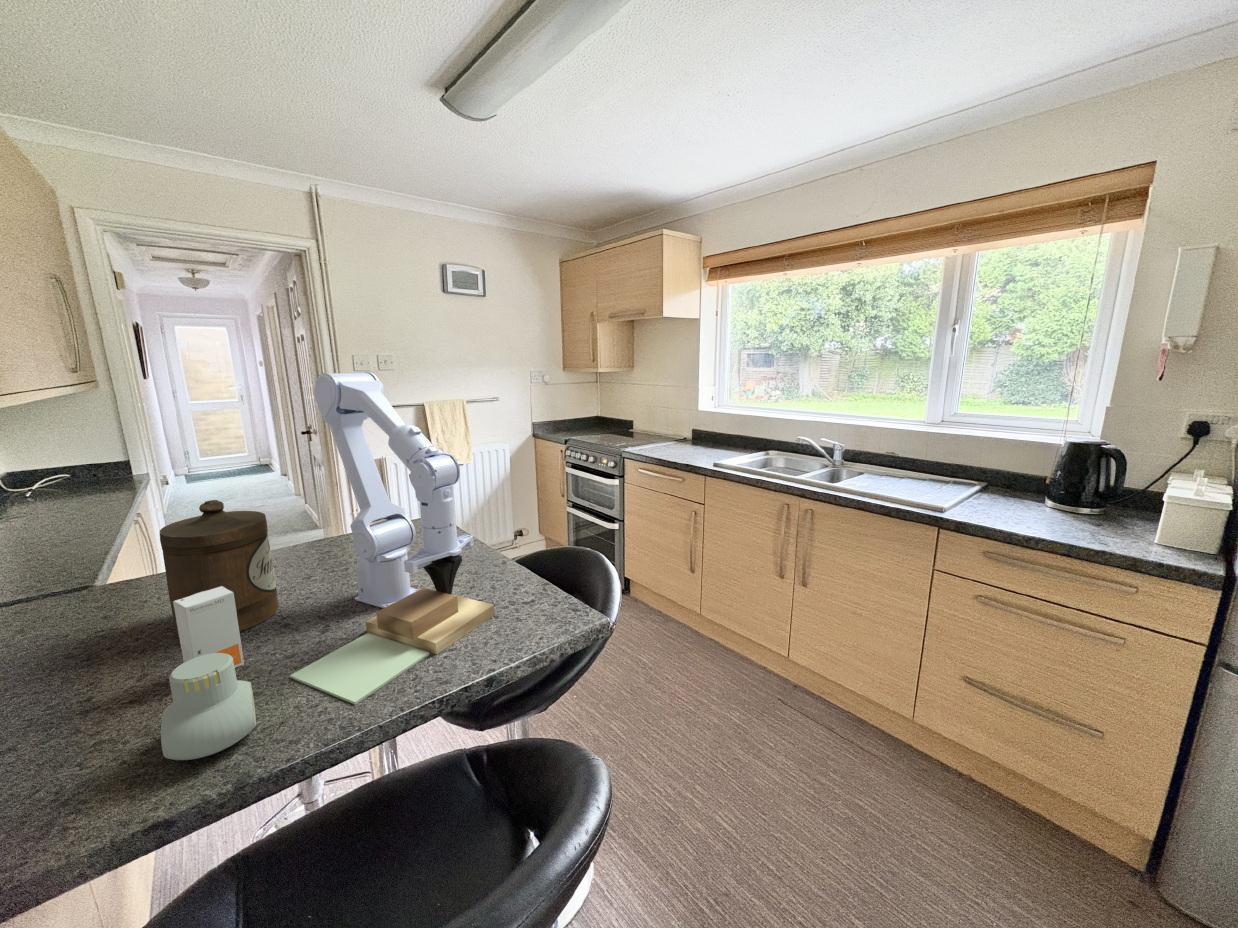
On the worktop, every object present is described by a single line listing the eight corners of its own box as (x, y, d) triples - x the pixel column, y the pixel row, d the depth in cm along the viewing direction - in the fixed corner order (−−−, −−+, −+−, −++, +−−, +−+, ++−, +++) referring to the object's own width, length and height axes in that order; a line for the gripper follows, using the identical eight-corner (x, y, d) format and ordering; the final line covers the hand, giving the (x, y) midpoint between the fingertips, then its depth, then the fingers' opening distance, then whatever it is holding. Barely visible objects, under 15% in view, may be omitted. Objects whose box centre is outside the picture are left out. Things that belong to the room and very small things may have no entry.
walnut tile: (378, 628, 82) (376, 611, 82) (424, 602, 91) (423, 587, 91) (413, 639, 79) (411, 622, 78) (458, 611, 88) (457, 595, 87)
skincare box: (197, 685, 71) (182, 608, 69) (185, 676, 73) (171, 600, 71) (246, 664, 76) (234, 591, 74) (234, 656, 78) (221, 584, 76)
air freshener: (174, 728, 63) (159, 657, 61) (254, 701, 68) (243, 634, 66) (165, 785, 54) (148, 703, 52) (258, 749, 59) (246, 674, 57)
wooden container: (289, 616, 91) (272, 499, 86) (182, 650, 80) (157, 519, 76) (268, 592, 101) (252, 486, 96) (170, 619, 90) (147, 501, 86)
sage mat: (290, 677, 73) (289, 675, 73) (368, 634, 84) (367, 632, 84) (355, 704, 67) (355, 702, 67) (429, 654, 78) (429, 652, 78)
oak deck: (366, 632, 85) (365, 621, 85) (429, 598, 98) (428, 588, 97) (436, 654, 78) (435, 642, 78) (494, 614, 91) (494, 604, 90)
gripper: (423, 539, 79) (430, 618, 82) (484, 515, 92) (488, 583, 95) (392, 533, 82) (399, 609, 85) (455, 510, 95) (460, 577, 98)
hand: (444, 595), depth 90 cm, fingers closed
